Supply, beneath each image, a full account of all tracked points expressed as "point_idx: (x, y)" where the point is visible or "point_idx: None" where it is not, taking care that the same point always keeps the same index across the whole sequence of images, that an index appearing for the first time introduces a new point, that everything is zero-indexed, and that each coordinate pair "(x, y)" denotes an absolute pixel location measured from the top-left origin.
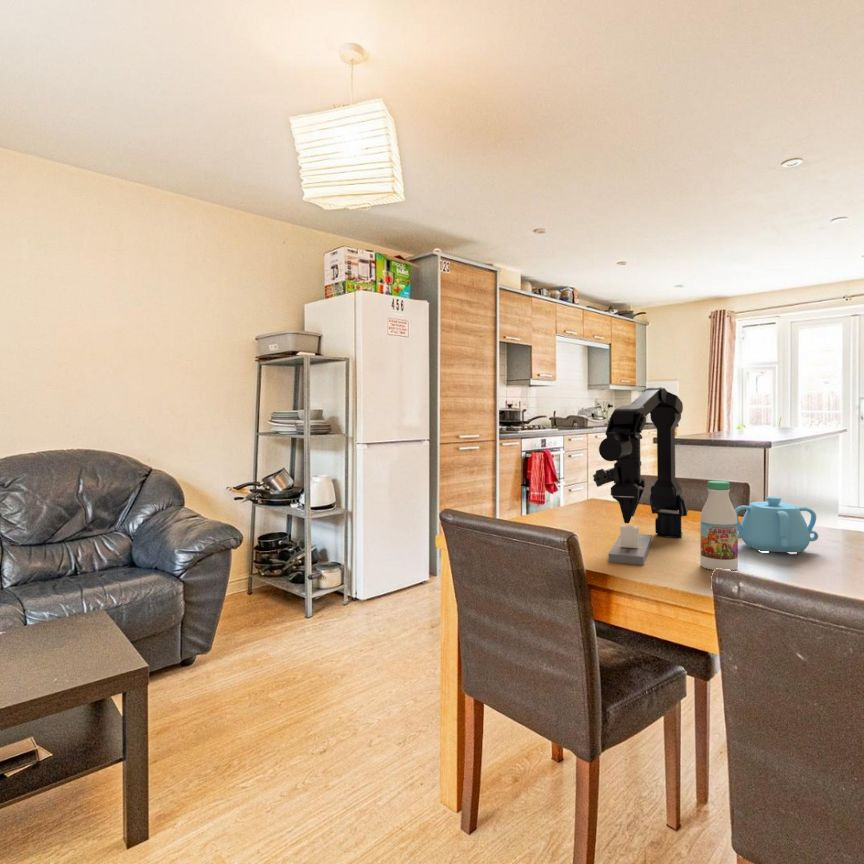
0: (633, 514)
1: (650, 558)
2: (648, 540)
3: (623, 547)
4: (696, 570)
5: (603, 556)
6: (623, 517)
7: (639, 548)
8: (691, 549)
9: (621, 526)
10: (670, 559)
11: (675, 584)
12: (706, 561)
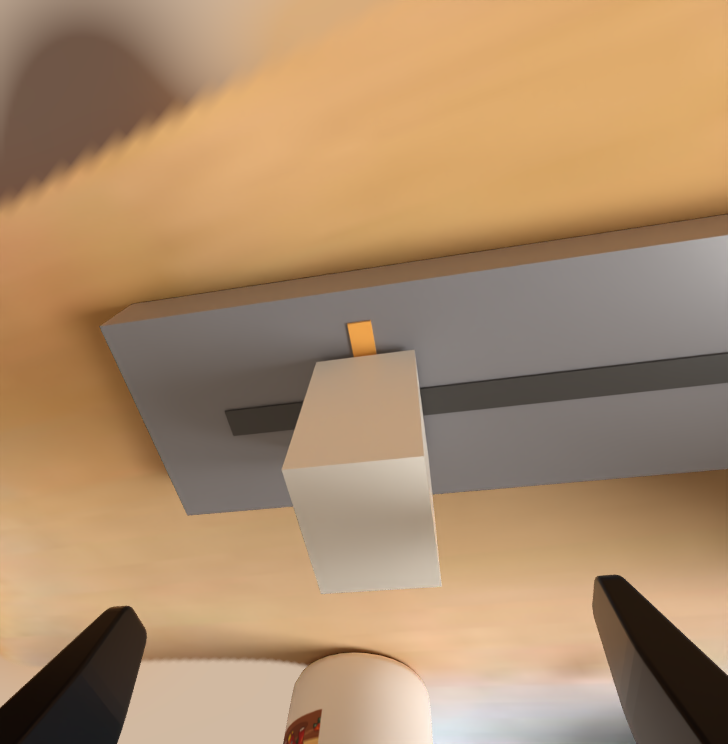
0: (603, 639)
1: None
2: (654, 468)
3: None
4: (271, 641)
5: (244, 225)
6: (42, 675)
7: None
8: (657, 604)
9: (329, 471)
10: None
11: (33, 607)
12: (296, 701)
